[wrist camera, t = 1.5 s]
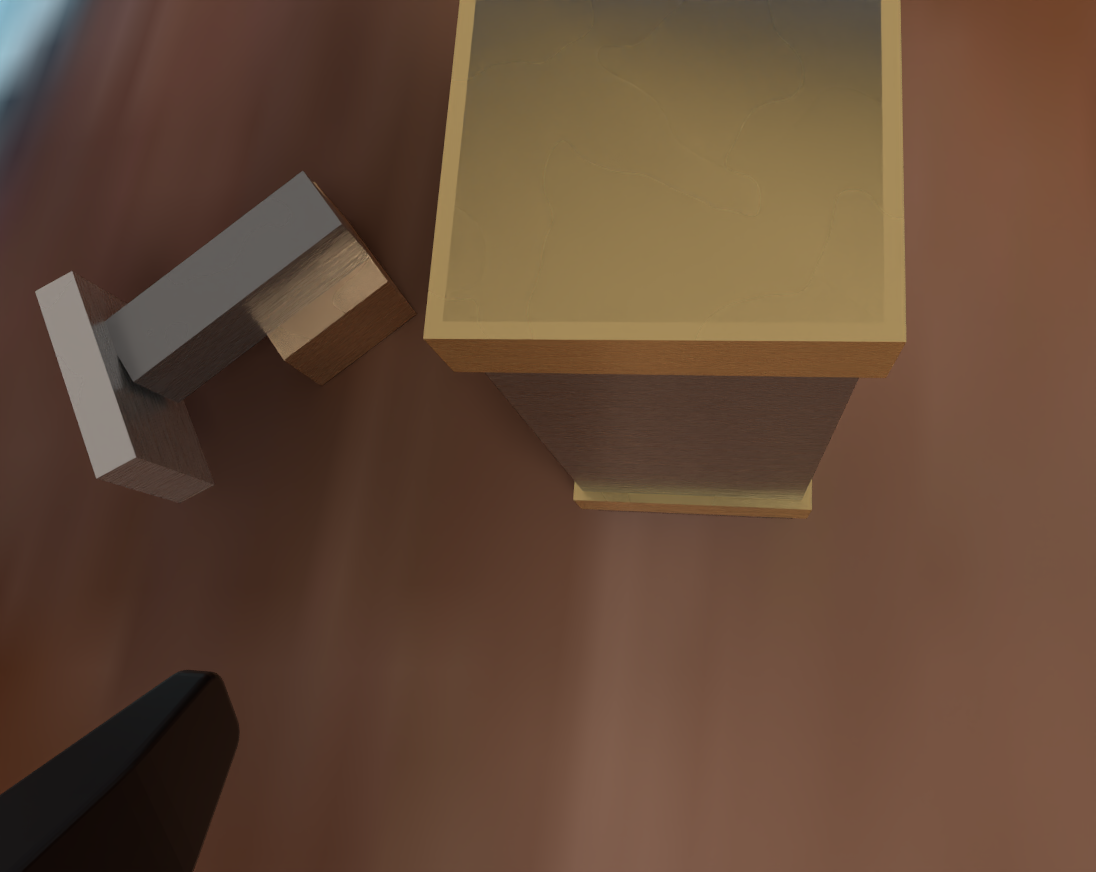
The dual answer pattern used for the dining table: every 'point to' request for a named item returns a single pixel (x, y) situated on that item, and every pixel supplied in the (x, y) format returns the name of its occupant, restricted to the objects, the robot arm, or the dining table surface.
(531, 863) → the dining table surface
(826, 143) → the block
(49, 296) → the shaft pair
